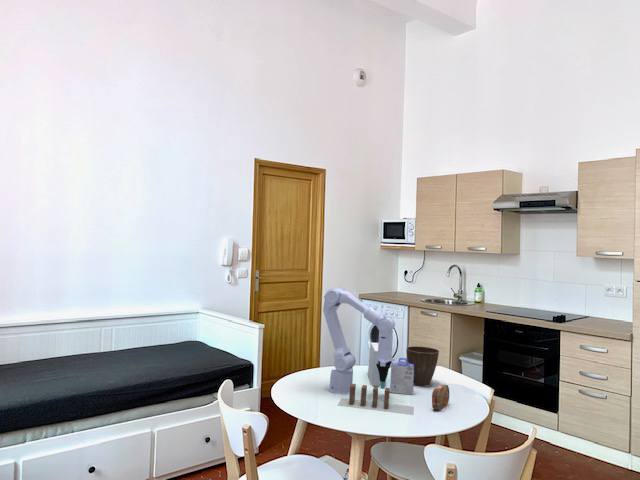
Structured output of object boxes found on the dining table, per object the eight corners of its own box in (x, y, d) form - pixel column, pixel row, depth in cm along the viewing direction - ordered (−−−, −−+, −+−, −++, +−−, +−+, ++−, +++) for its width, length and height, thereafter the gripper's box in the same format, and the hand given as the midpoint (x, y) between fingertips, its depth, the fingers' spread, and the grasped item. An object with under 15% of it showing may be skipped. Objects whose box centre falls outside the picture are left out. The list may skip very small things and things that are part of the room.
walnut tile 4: (383, 408, 189) (384, 390, 189) (384, 405, 193) (385, 387, 193) (387, 409, 189) (388, 391, 189) (388, 405, 193) (389, 387, 193)
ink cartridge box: (413, 391, 215) (414, 358, 215) (412, 395, 210) (414, 361, 210) (390, 389, 217) (392, 356, 217) (389, 392, 212) (391, 359, 212)
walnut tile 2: (360, 405, 191) (361, 387, 191) (362, 402, 195) (362, 384, 195) (364, 406, 191) (365, 388, 191) (366, 403, 195) (366, 385, 195)
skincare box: (383, 387, 220) (385, 351, 221) (371, 386, 220) (373, 350, 221) (378, 374, 241) (380, 342, 242) (367, 374, 242) (369, 341, 242)
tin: (437, 413, 188) (438, 391, 188) (429, 411, 190) (430, 389, 190) (449, 403, 201) (450, 383, 201) (442, 402, 203) (443, 381, 203)
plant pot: (399, 379, 234) (401, 346, 234) (428, 379, 237) (430, 346, 237) (412, 389, 219) (414, 353, 219) (443, 388, 223) (445, 353, 223)
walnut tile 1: (349, 404, 192) (349, 386, 192) (350, 401, 196) (351, 383, 196) (353, 405, 192) (354, 387, 192) (354, 401, 196) (355, 384, 196)
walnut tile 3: (372, 407, 190) (372, 389, 190) (373, 403, 194) (374, 386, 194) (376, 407, 190) (377, 389, 190) (377, 404, 194) (378, 386, 194)
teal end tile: (380, 388, 200) (381, 371, 200) (381, 385, 205) (382, 368, 205) (384, 388, 200) (385, 371, 200) (385, 386, 204) (386, 369, 204)
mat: (337, 406, 190) (337, 405, 190) (341, 398, 200) (341, 397, 200) (413, 415, 184) (413, 414, 184) (414, 407, 194) (414, 406, 194)
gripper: (393, 351, 195) (391, 385, 194) (396, 344, 209) (394, 376, 209) (375, 349, 196) (373, 383, 196) (379, 343, 210) (377, 374, 210)
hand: (383, 380), depth 202 cm, fingers closed on teal end tile, 4 cm apart
